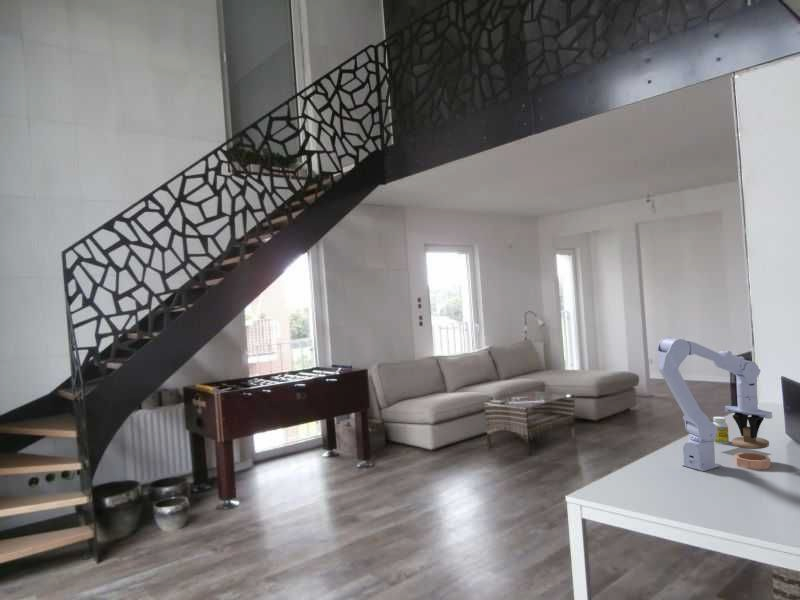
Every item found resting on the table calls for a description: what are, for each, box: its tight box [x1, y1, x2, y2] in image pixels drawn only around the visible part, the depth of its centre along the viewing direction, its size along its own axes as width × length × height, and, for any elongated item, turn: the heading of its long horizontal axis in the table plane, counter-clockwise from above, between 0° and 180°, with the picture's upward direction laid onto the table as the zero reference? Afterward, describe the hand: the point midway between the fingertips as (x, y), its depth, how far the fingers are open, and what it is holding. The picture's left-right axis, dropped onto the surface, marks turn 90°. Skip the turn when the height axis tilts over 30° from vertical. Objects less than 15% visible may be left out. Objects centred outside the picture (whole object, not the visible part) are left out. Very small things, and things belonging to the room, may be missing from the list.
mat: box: [720, 447, 771, 456], centre depth 197 cm, size 11×11×1 cm
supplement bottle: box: [712, 416, 730, 445], centre depth 213 cm, size 5×5×10 cm
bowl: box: [733, 453, 772, 471], centre depth 184 cm, size 10×10×3 cm
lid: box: [731, 425, 770, 450], centre depth 187 cm, size 11×11×5 cm
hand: (749, 436), depth 187 cm, fingers closed on lid, 3 cm apart
